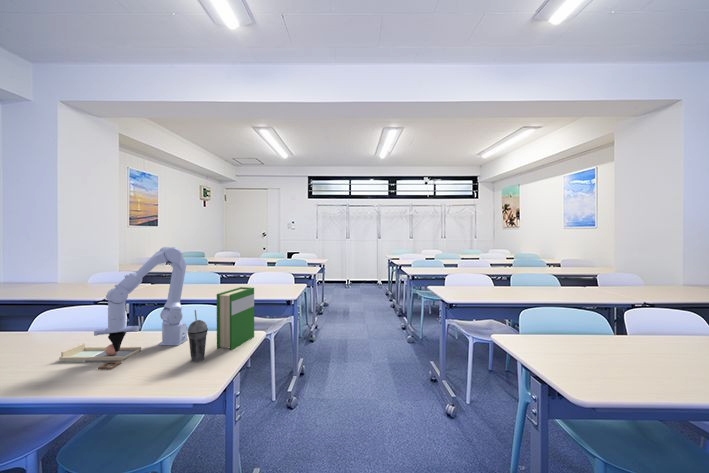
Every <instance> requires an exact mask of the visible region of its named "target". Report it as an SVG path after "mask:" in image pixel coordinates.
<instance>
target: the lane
mask: <svg viewBox="0 0 709 473" xmlns="http://www.w3.org/2000/svg"><path fill="white" fill-rule="evenodd" d="M85 345H86V344H85V343H81V344H78V345H76V346H73V347H71V348H68V349H66V350H63V351H60V352H61V353H60V356H59V358H58V360H59V361H58V362H59V363H107V362H121V361H122V362H123V361H125V360H127V359H128V358H130V357H132V356H134V355H136V354H138V353H140V352H142V346H120V350H119V351H118V353H117V354H115V355H112V356H110V355H107V354H106V353H105V349H106V347H107V346H85Z"/></svg>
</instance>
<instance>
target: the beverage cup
mask: <svg viewBox="0 0 709 473" xmlns="http://www.w3.org/2000/svg"><path fill="white" fill-rule="evenodd" d="M194 317H195V320H194V321H192V322H191V323H190V324H189V326H188V327H187V338H188V341H189V353H190V359H191V360H190V361H191V362H193V363H197V362H202V361H203V360H204V359H205V355H206V354H205V353H206V346H207V335H208V330H209V329H208V325H207V323H206V322H205V321H203V320H201V319H198V316H197V310H196V309H195V310H194Z"/></svg>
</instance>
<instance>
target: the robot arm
mask: <svg viewBox="0 0 709 473" xmlns="http://www.w3.org/2000/svg"><path fill="white" fill-rule="evenodd" d="M183 255H184V253H183V252H182V251H181V250H180V249H179V248H177V247H169V246H164V247H161V248H160V249H159V250H158V251H156V252H155V253H154V254H153V255H152V256H151V257H150V258H148V260H147V261H146V262H145V263H143V265H142V266H141V267H140V268H139V269H138V270H136V272H132V273H129V274H125V275H124V276H123V280H121V281H119V283H118V284H115V285H114V288H111V289H109V290H108V292H107V293H106V295H105V298H106V300H107V305H108V306H107V327H106V328H100V329H95V330H94V331H93V336H95V337H97V336H101V335H108V336H107V339H109V341H110V342H111V344H113V346H114V349H115V352H118V351H119V350H120V347H122V342H123V340H124V338H125V336H126V334H127V333H137V332H139V331H140V326H139V325H127V324H126V323H127V321H126V320H127V317H126V316H127V314H126V313H127V312H126V311H127V310H126V309H127V307H126V301H127V300H128V297H129V294H131V293H132V292H133V291H134V290H135V289H136V288H137V287H138V286H140V284H142V282H143V278H144V277H145V276H146V275H147V274H149V272H151V271H152V270H153V269H155V267H156V266H158V265H160V264H165V263H168V265H170V267H171V268H172V269H171V270H172V272H171V277H170V282H169V289H168V293H167V294H168V295H167V300H166V302H165V304H164V305H163V308H162V310H161V312H160V315H159V316H160V319H161V320H162V323H161V335H162V337H161V342H160V343H157V346H179V345H182V343H184V342H186V341H188V340H189V337H188V333H187V332H188V326H187V324H186V323H183V322H181V321H182V319H183V312H182V308H183V307H182V304H181V298H182V292H183V287H184V280H185V276H186V269H187V263H186V260H185V258H184V256H183Z"/></svg>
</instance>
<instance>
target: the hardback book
mask: <svg viewBox="0 0 709 473" xmlns="http://www.w3.org/2000/svg"><path fill="white" fill-rule="evenodd" d="M253 338H255V287H243V286H239V287H236V288H233V289H228V290H226V291H223V292H218V293H216V350H219V348H220V349H222V348H226V349H229V351H233V350H235V349H236V348H238V347H240V346H242V345H243V344H245V343H247V342H249V340H251V339H253Z"/></svg>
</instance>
